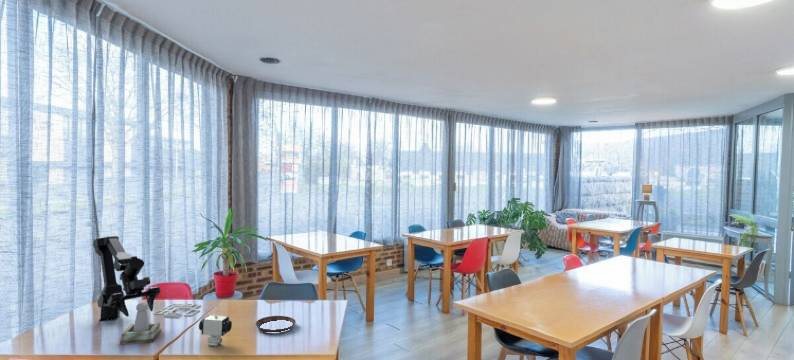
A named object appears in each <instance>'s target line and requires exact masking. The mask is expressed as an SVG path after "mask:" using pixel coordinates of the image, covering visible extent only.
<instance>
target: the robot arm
mask: <svg viewBox="0 0 794 360" xmlns="http://www.w3.org/2000/svg"><path fill="white" fill-rule="evenodd" d="M119 237H120V236H118V235H107V236H106V235H105V236H103V237H102V236H101V237H96V239H93V241H92V247H93V248H94V252H95V253H96V254H97V255H98V256H99V257H100V263H101V271H102V276H103V277H102V278H103V284H104V286H103V288H102V290H101V292H100V296H99V298H98V299H97V306H98V307H99V308H100V318H99V319H98V321H99V322H103V321H104V322H105V321H116V320H117V319H118V318H119V317H120V316H121V315H120V314H121V313H122V314H123V315H125V316H126V318H128V317H129V316H130V314H129V309H128V308H127V305H126V302H125V301H127V300H132V299H138V298H142V297H143V298H144V297H145V298H146V303H147V304H148V309H149V310H150V312H153V311H154V301H155V299H156V298H157V297H158V296H159V294H160V293H161V288H160V286H151V287H149V288H148V290H146V291H144V290H145V287H147V286H148V285H150V284H151V279H150V276H145V277H142V278H141V279H139V278H138V275H139V274H140V273H141V271H142V269H143V268H144V266H145V262H144V261H145V260H143V259H142V258H140V257H138V256H136V255H134V256H133V255H132V254H130V253H127V251H126V250H125V249H124V246H123V245H122V243H121V241H120V238H119ZM116 272H121V273H120V274H119V276H120V277H119V280H121V283H122V284H118V282H117V278H116Z"/></svg>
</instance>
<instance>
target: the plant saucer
mask: <svg viewBox="0 0 794 360" xmlns="http://www.w3.org/2000/svg"><path fill="white" fill-rule="evenodd" d="M277 320H286V321H290V322H292V323H293V324H294V325H292V326H290V327H288V328H284V329H276V330H270V329H263V328H260V326H261V325H262V324H264V323H267V322H270V321H277ZM296 323H297V322H296V319H294V318H293V317H291V316H287V315H286V316H285V315H271V316H265V317H262V318H259V319H258V320H257V321H256V322H255V325H256V328H257V329H258V331H260V332H261V331H263V332H281V331H285V330H288V329H290V330H291V329H292V328H294V326H295V325H296ZM263 332H262V333H263Z"/></svg>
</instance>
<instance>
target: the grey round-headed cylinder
mask: <svg viewBox="0 0 794 360" xmlns="http://www.w3.org/2000/svg"><path fill="white" fill-rule="evenodd" d="M135 308H136V311H137V312H136V316H135V321H134V323H133V324H134V329H133V332H136V331H149V323H150V321H149V317H148V316H149V315H148V309H149V306H148V303H147V302H142V303H138V304H137V305H136V306H135Z"/></svg>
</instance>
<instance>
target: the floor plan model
mask: <svg viewBox="0 0 794 360" xmlns="http://www.w3.org/2000/svg"><path fill="white" fill-rule="evenodd" d="M201 307H202V304H201V303H199V304H198V303H171V304H168V305H167V306H165V307H163V308H161V309H159V310H157V311H155V312H153V315H160V316H163V318H169V319H180V317H182V315H183V317H187V318H188V317H189V318H191V317H192V316H195V315H196V314H198V313H199V312H200V311H201V309H199V308H201ZM173 308H174V309H173ZM180 310H181V312H177V311H180ZM186 311H187V312H186ZM182 312H183V314H182Z"/></svg>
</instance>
